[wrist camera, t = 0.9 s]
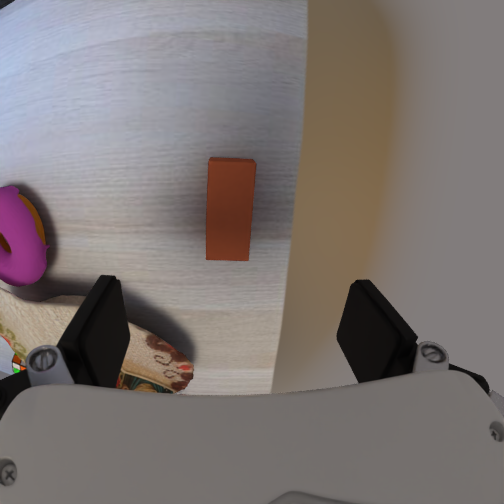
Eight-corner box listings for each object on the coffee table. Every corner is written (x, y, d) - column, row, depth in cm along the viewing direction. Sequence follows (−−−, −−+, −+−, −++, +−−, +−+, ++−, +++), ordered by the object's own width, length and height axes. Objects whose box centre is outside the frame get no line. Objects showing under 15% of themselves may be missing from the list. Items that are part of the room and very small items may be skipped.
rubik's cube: (47, 364, 30) (41, 391, 26) (19, 353, 28) (10, 378, 24) (47, 348, 29) (39, 376, 25) (17, 336, 27) (7, 362, 23)
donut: (-16, 188, 19) (-42, 201, 15) (46, 175, 20) (19, 186, 16) (4, 273, 23) (-16, 293, 19) (65, 274, 24) (46, 298, 20)
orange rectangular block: (209, 157, 22) (208, 160, 20) (252, 159, 22) (256, 162, 20) (206, 247, 25) (205, 260, 23) (246, 248, 26) (248, 261, 23)
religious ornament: (221, 368, 31) (233, 464, 21) (111, 401, 34) (106, 472, 24) (52, 206, 17) (-32, 330, 7) (-25, 299, 20) (-62, 380, 10)
